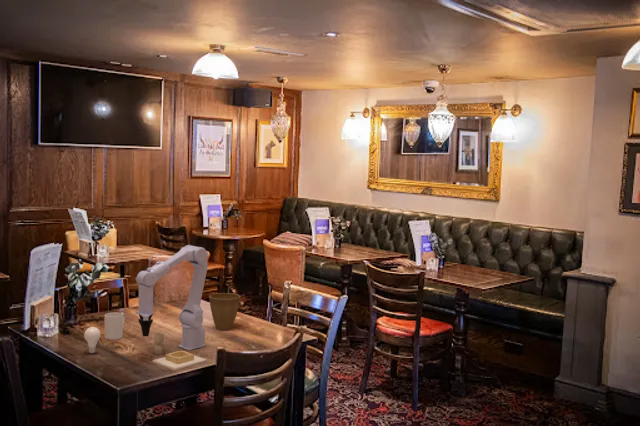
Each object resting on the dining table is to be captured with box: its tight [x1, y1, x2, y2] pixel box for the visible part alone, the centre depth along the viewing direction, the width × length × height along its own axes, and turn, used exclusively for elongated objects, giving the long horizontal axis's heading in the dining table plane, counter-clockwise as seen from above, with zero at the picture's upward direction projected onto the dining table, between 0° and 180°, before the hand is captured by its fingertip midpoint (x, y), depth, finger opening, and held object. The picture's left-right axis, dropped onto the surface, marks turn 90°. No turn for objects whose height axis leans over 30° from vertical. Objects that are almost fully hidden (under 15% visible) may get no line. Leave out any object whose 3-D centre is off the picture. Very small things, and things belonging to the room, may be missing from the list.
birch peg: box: [153, 332, 165, 355], centre depth 272 cm, size 4×4×8 cm
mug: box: [103, 311, 126, 341], centre depth 293 cm, size 12×8×10 cm, turn 165°
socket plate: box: [152, 350, 208, 371], centre depth 262 cm, size 16×14×3 cm
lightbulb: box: [83, 326, 102, 354], centre depth 268 cm, size 6×6×11 cm
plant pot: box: [208, 292, 241, 331], centre depth 314 cm, size 15×15×16 cm
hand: (145, 333), depth 265 cm, fingers open, 7 cm apart
